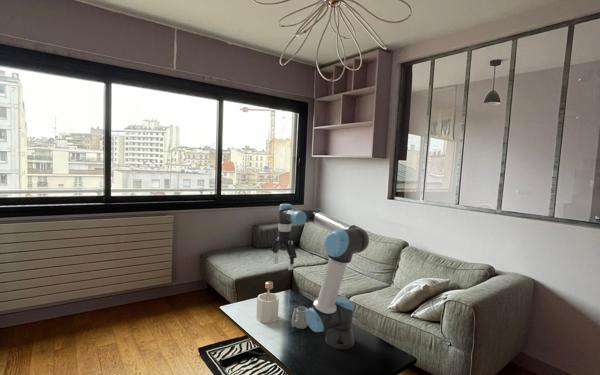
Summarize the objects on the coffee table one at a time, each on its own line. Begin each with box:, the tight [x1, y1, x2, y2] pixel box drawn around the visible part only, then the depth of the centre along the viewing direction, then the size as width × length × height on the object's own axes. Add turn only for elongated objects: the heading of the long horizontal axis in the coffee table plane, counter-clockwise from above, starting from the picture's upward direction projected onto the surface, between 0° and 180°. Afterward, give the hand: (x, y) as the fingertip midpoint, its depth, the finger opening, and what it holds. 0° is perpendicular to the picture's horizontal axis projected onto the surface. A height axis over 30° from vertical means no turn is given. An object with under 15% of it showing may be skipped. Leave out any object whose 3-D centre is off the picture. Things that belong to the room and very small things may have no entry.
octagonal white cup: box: [256, 292, 280, 324], centre depth 198 cm, size 16×12×13 cm
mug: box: [290, 306, 309, 330], centre depth 189 cm, size 8×12×12 cm, turn 136°
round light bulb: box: [264, 281, 274, 301], centre depth 196 cm, size 9×9×18 cm
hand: (282, 266), depth 196 cm, fingers open, 13 cm apart
